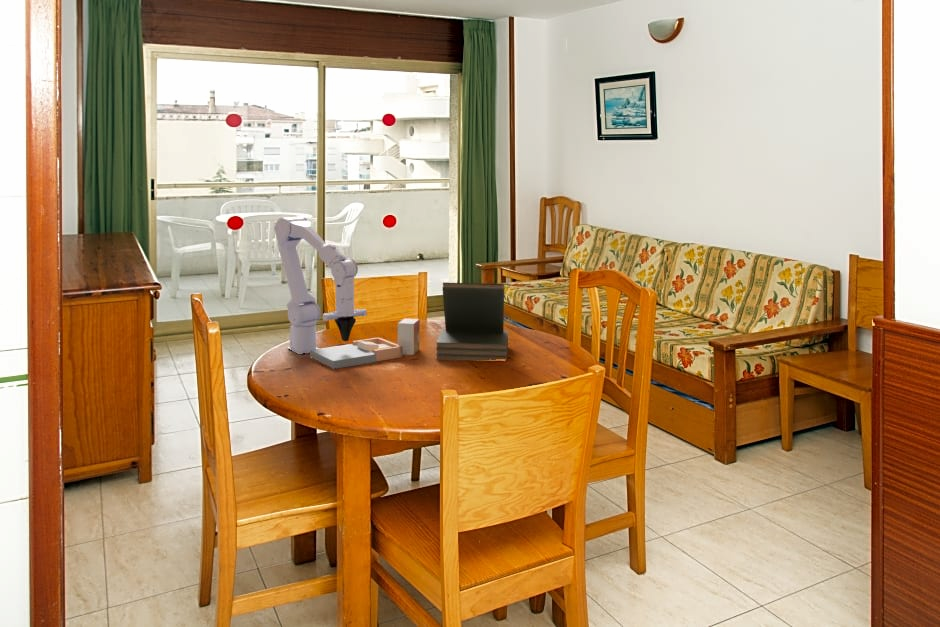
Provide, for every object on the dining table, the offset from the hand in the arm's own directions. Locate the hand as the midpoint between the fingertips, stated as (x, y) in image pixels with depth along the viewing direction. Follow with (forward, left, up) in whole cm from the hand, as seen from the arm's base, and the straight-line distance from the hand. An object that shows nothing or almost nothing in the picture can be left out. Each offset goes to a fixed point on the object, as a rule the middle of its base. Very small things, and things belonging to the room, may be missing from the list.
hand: (345, 340), depth 252 cm
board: (0, -1, -6) cm, 6 cm away
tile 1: (0, +8, -4) cm, 9 cm away
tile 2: (0, +13, -6) cm, 14 cm away
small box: (+3, +22, -6) cm, 23 cm away
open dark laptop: (+17, +38, -7) cm, 42 cm away
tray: (0, +12, -6) cm, 13 cm away
